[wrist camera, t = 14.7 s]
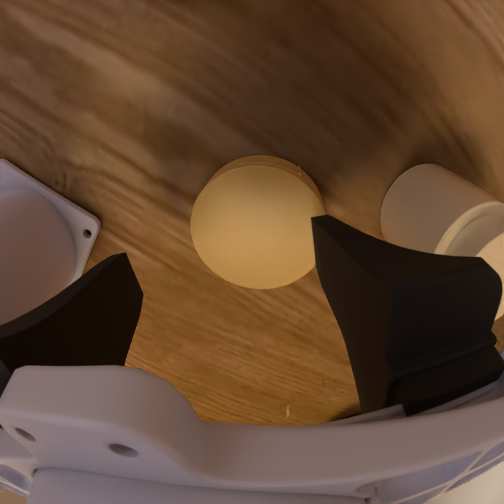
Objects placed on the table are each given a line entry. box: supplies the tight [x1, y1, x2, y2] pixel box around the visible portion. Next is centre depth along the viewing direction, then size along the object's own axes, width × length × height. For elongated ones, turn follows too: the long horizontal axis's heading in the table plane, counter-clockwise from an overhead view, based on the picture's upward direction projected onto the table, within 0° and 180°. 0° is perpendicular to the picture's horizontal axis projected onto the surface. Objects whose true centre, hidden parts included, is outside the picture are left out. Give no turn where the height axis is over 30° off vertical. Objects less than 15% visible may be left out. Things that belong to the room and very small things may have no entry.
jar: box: [380, 164, 504, 321], centre depth 12 cm, size 6×6×7 cm
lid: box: [190, 155, 326, 289], centre depth 14 cm, size 6×6×2 cm
